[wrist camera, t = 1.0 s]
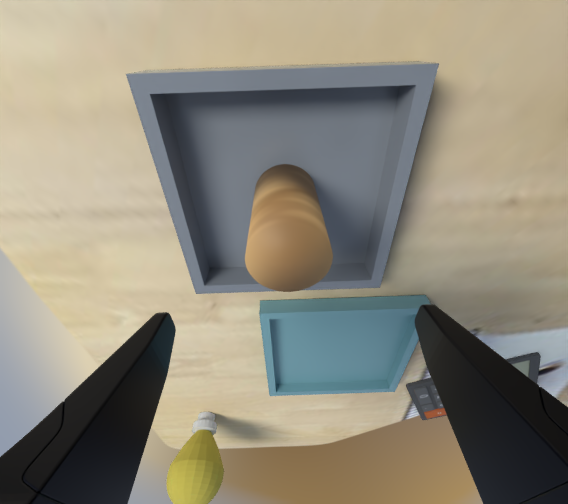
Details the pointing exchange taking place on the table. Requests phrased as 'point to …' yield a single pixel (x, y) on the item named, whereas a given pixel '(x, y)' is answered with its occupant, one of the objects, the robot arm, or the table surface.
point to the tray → (338, 343)
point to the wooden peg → (287, 231)
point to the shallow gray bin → (284, 157)
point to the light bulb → (197, 465)
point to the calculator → (430, 400)
